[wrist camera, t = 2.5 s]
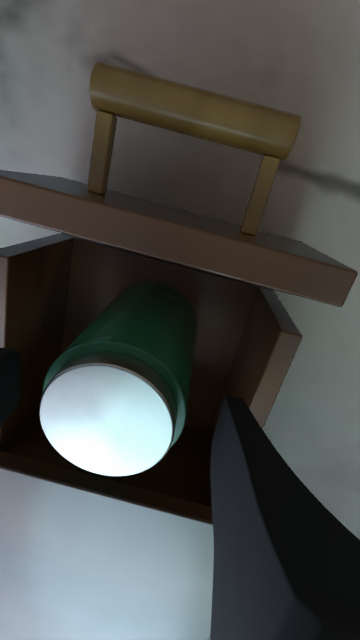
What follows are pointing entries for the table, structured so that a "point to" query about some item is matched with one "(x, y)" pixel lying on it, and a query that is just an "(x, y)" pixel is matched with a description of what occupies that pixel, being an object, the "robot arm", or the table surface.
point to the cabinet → (100, 558)
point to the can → (123, 383)
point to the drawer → (159, 271)
